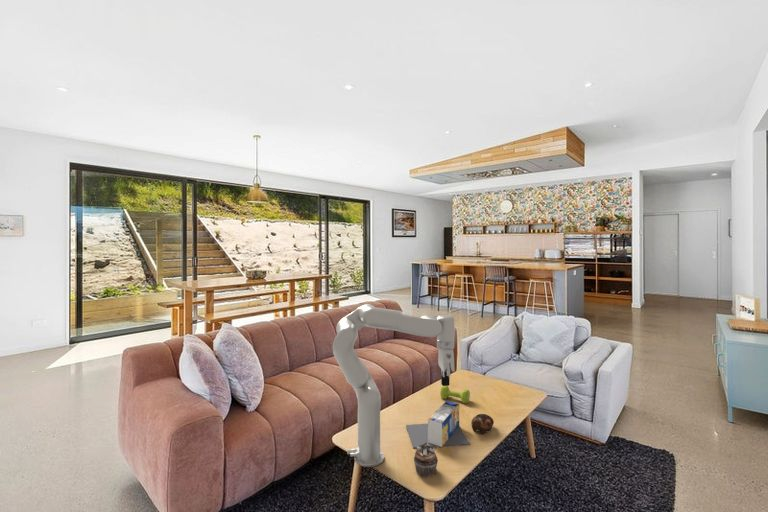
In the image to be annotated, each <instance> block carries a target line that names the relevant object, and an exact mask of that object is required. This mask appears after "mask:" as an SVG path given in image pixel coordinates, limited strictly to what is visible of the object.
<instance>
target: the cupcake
mask: <svg viewBox="0 0 768 512" xmlns="http://www.w3.org/2000/svg"><path fill="white" fill-rule="evenodd" d="M435 451H436V449H435V447H430V446H429V445H428V444H427V443H424V444H422V445H419V446H418V447H417V449H415V452H414V457H413V461H414V462H413V463H414V466H415V473H416V475H418V476H420V477H424V478H431V477H433V476H435V474H436V471H437V465H438V461H439V459H438V457H437V454H436V452H435Z"/></svg>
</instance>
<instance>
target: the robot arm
mask: <svg viewBox="0 0 768 512" xmlns="http://www.w3.org/2000/svg"><path fill="white" fill-rule="evenodd" d="M454 317H455V316H452V315H449V314H440V315H435V314H434V315H433V314H423V315H421V317H419V316H418V317H417V316H414V315H411V314H409V313H407V312H404V311H402V310H397V309H389V308H382V307H375V305H373V304H371V303H365V304H363V305H361V306H359V307H357V308H356V309H355V310H353V311H352V312H351V313H349V314H347V315H345V316H344V317H342V318H341V319H340V320H339V321H338V322H337V324H336V327H335V331H336V336H335V337H334V339H333V343H332V353H333V357H334V358H335V360H336V362H337V364H338V366H339V368H340V370H341V371H342V373H343V375H344V378H345V380H346V381H347V383H348V384H349V385H350V386H351V388H353V391H354V392H355V395H356V399H357V445H356V447H354V448H348V449H346V450H347V451H346V452H347V453H346V454H347V455H350V457H352V458H353V457H354V458H353V459H354V461H355V463H356V464H357V465H358V466H361V467H365V468H372V467H376V466H378V465H381V464H382V463H383V462H384V459H385V455H384V454H385V453H384V452H383V451H382V450H381V409H382V408H381V407H382V396H381V393H380V390H379V388H378V385H377V384H376V382H375V379H373V377H372V375H371V373H370V371H369V370H368V368H367V366H366V364H365V363H364V361H363V360H362V359H361V358H359V357H358V354H357V352H356V351H355V349H354V345H355V343H356V340H357V338H358V336H359V331H360V330H361V329H363V328H364V327H367V328H374V329H381V330H388V331H389V330H390V331H396V332H399V333H405V334H409V335H413V336H417V337H425V338H436V348H437V349H438V353H437V354H438V356H437V361H438V363H437V364H438V366H439V368H440V369H441V370H440V371H441V373H440V374H441V377H440V378H441V380H440V383H441V387H442V386H448V387H449V386H450V376H451V372H453V373H454V372H455V354H454V353H455V352H454V349H455V318H454ZM371 466H372V467H371Z"/></svg>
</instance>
